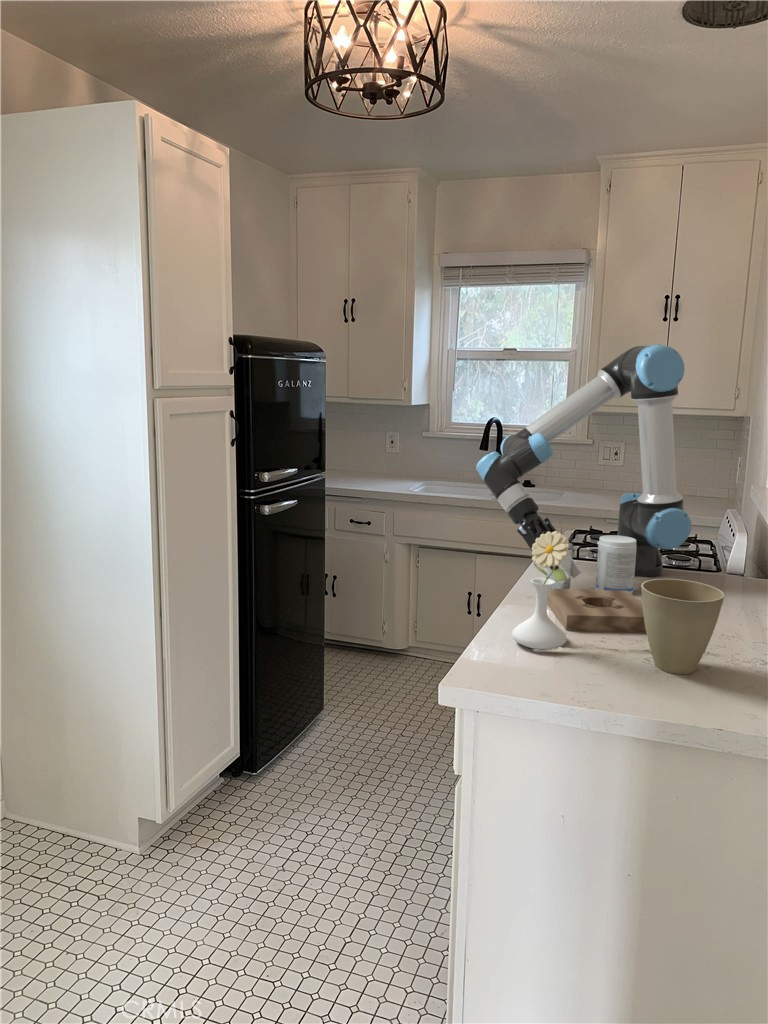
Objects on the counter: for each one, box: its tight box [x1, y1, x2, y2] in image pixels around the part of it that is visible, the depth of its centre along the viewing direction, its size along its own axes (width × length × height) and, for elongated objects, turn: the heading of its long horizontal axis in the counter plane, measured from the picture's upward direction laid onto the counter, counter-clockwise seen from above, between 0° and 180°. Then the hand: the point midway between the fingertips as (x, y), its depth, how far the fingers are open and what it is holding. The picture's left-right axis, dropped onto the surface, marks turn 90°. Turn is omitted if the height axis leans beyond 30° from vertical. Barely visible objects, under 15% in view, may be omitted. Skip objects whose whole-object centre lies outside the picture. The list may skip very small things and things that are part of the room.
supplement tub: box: [594, 534, 637, 594], centre depth 193 cm, size 10×10×15 cm
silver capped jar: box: [545, 542, 574, 589], centre depth 188 cm, size 6×6×13 cm
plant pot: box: [641, 578, 725, 675], centre depth 144 cm, size 15×15×16 cm
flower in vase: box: [511, 530, 570, 650], centre depth 152 cm, size 13×11×25 cm
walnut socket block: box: [547, 588, 647, 634], centre depth 171 cm, size 20×20×4 cm
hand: (571, 577), depth 186 cm, fingers closed on silver capped jar, 6 cm apart
